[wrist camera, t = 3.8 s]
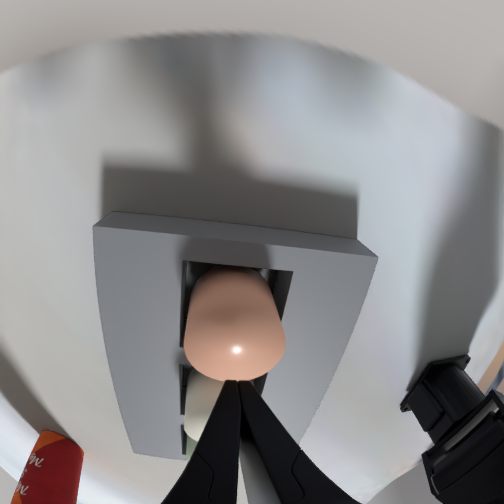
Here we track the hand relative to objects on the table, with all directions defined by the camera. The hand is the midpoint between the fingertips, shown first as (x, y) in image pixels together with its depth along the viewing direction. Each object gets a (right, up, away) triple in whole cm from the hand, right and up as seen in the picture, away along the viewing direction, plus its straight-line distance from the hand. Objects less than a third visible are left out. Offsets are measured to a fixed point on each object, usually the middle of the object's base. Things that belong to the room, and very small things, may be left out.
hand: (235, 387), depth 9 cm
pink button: (0, +2, +5) cm, 5 cm away
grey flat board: (-1, -3, +8) cm, 9 cm away
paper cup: (-21, -17, +12) cm, 30 cm away
